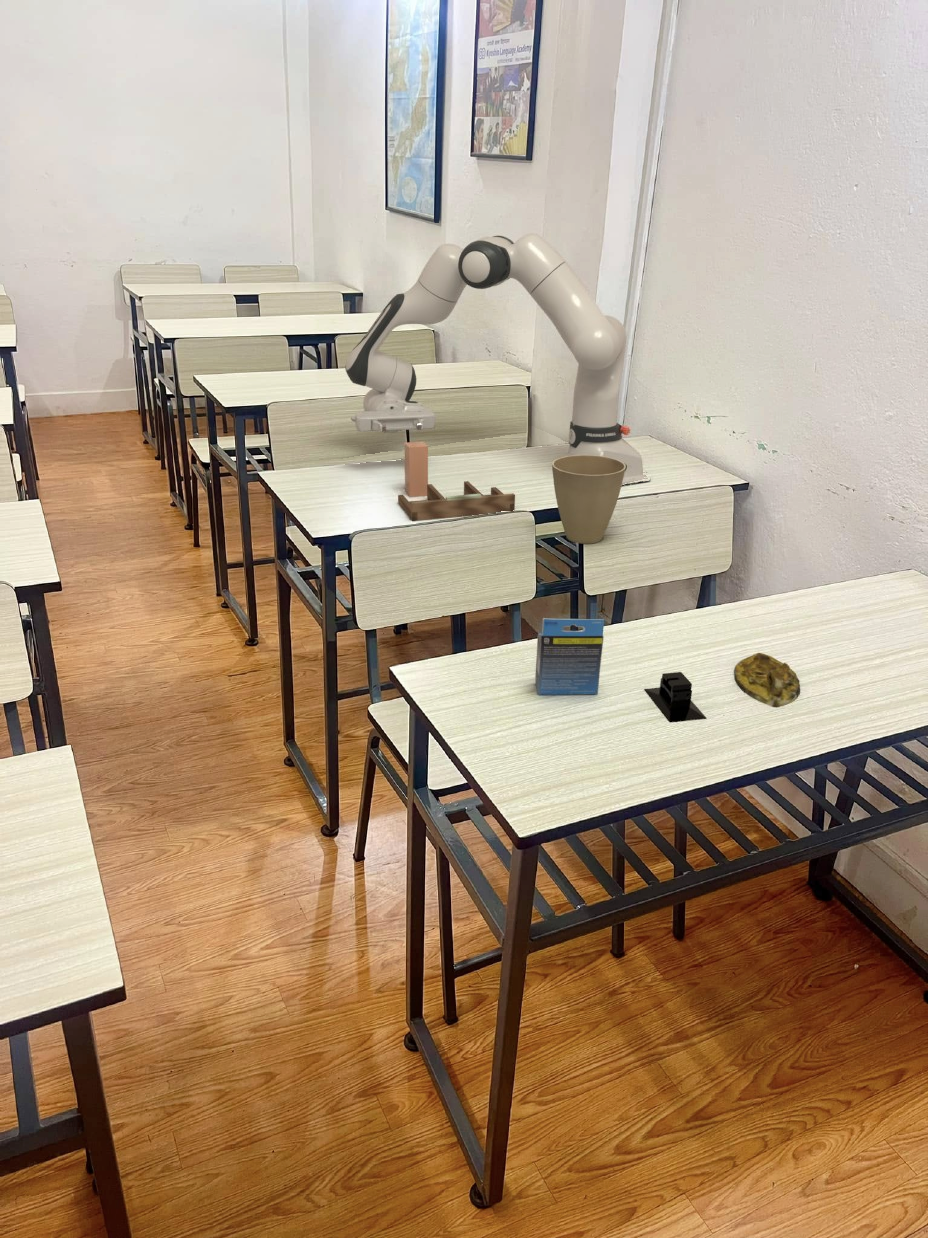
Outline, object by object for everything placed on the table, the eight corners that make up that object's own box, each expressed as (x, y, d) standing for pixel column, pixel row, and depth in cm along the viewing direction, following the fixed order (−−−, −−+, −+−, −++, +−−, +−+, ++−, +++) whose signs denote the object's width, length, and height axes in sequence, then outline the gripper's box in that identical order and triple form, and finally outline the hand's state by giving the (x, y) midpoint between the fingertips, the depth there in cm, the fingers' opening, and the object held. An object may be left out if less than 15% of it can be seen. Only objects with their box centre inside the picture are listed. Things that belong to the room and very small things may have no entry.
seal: (725, 664, 141) (744, 713, 128) (726, 637, 139) (745, 684, 126) (786, 661, 140) (812, 710, 127) (788, 634, 138) (814, 680, 125)
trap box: (495, 495, 215) (496, 476, 213) (514, 511, 204) (515, 492, 202) (398, 503, 208) (397, 484, 206) (412, 521, 197) (411, 500, 195)
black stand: (633, 687, 133) (636, 660, 131) (679, 683, 134) (683, 655, 132) (668, 732, 122) (671, 703, 120) (717, 726, 123) (722, 698, 121)
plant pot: (558, 522, 197) (562, 451, 190) (625, 531, 193) (632, 458, 186) (539, 544, 185) (543, 469, 178) (610, 554, 180) (617, 477, 173)
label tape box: (593, 682, 133) (600, 607, 127) (598, 696, 129) (605, 619, 124) (534, 683, 132) (538, 607, 127) (537, 696, 129) (542, 619, 123)
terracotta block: (423, 490, 217) (422, 441, 212) (428, 495, 214) (427, 446, 208) (405, 491, 216) (404, 442, 211) (409, 497, 212) (409, 447, 207)
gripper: (349, 404, 227) (359, 416, 216) (426, 401, 233) (441, 413, 221) (349, 428, 230) (360, 442, 218) (426, 425, 236) (441, 438, 224)
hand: (402, 427), depth 220 cm, fingers open, 8 cm apart
